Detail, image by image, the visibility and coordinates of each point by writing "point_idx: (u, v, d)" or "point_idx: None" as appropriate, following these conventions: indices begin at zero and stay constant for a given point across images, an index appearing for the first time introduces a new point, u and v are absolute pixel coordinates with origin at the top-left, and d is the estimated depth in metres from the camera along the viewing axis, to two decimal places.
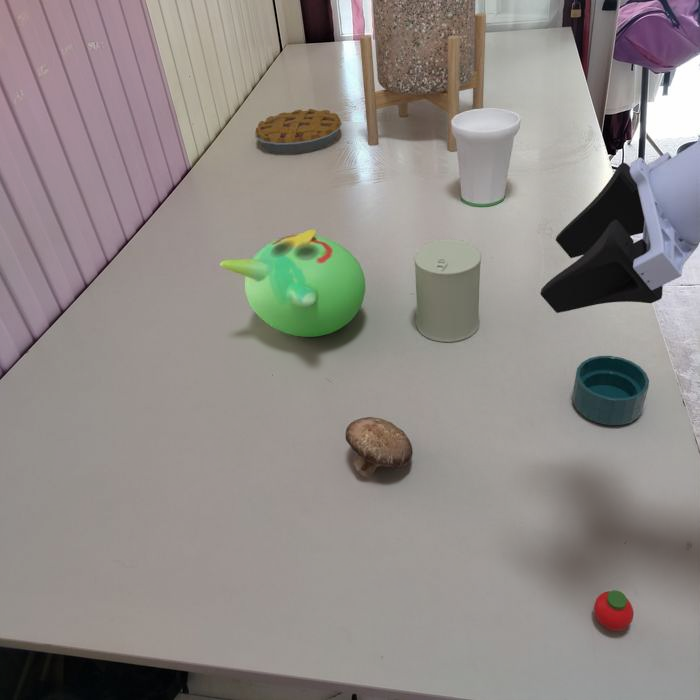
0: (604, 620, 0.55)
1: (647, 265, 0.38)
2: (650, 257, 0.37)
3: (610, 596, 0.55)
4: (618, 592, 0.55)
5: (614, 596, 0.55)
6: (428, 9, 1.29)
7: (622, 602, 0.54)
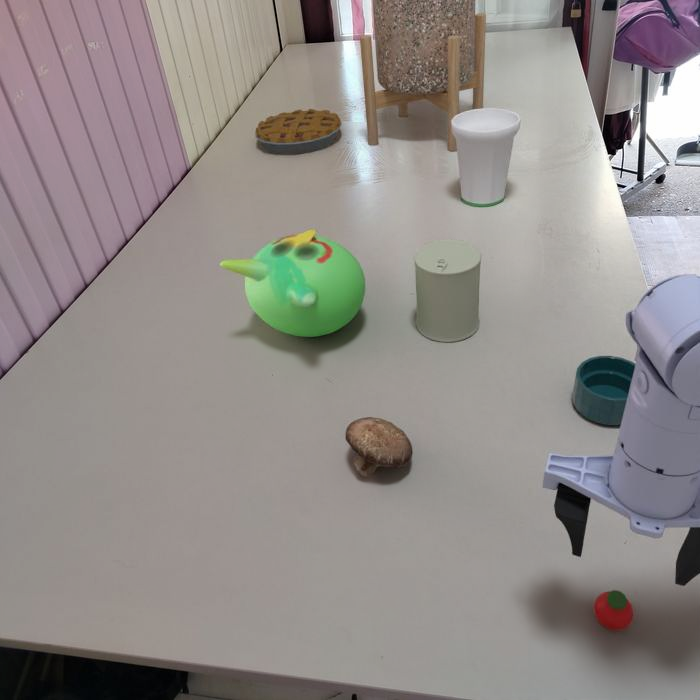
0: (604, 620, 0.55)
1: None
2: None
3: (610, 596, 0.55)
4: (618, 592, 0.55)
5: (614, 596, 0.55)
6: (428, 9, 1.29)
7: (622, 602, 0.54)
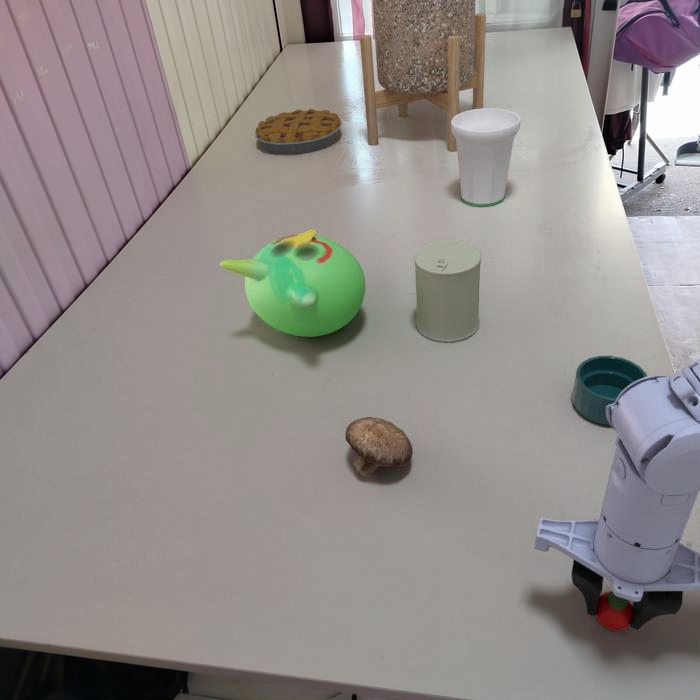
0: (604, 620, 0.55)
1: None
2: None
3: (610, 596, 0.55)
4: None
5: (614, 596, 0.55)
6: (428, 9, 1.29)
7: (622, 602, 0.54)
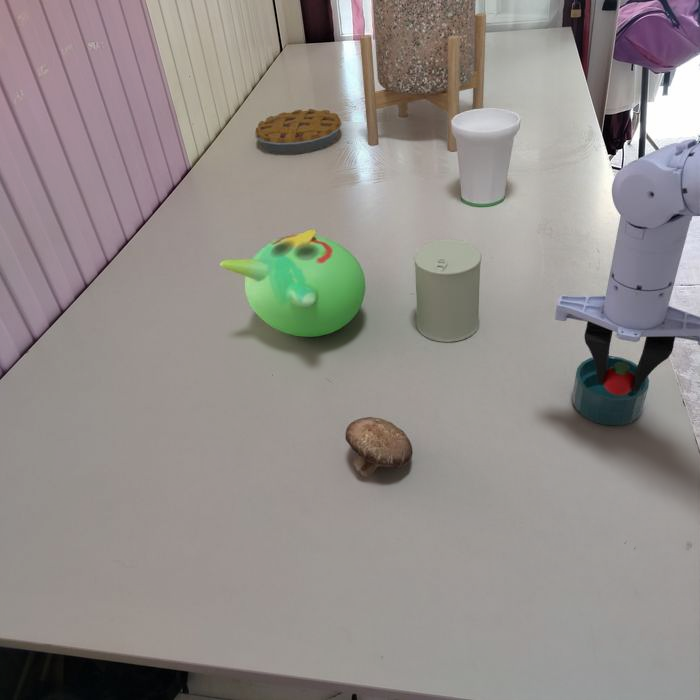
0: (610, 385, 0.68)
1: None
2: None
3: (616, 365, 0.67)
4: (623, 363, 0.68)
5: (619, 365, 0.67)
6: (428, 9, 1.29)
7: (626, 368, 0.67)
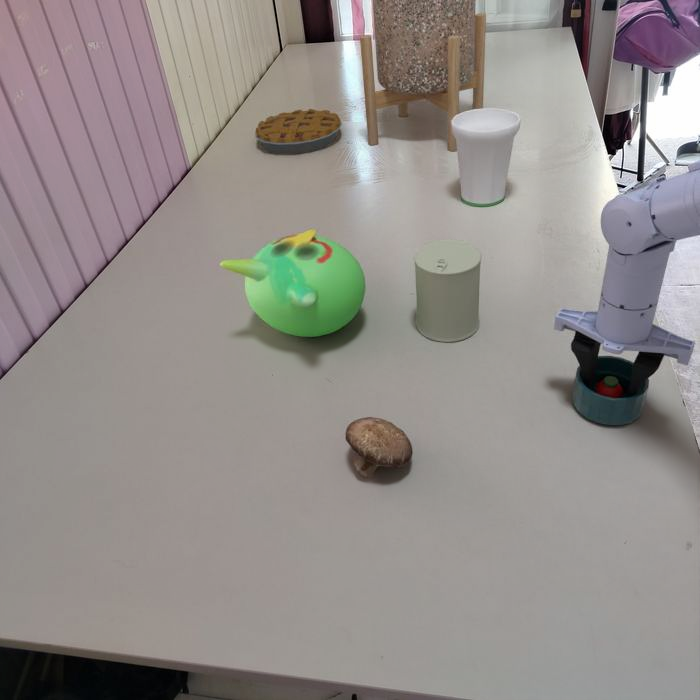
0: None
1: (689, 358, 0.67)
2: (688, 357, 0.67)
3: (606, 379, 0.75)
4: (613, 377, 0.75)
5: (609, 379, 0.75)
6: (428, 9, 1.29)
7: (614, 382, 0.75)
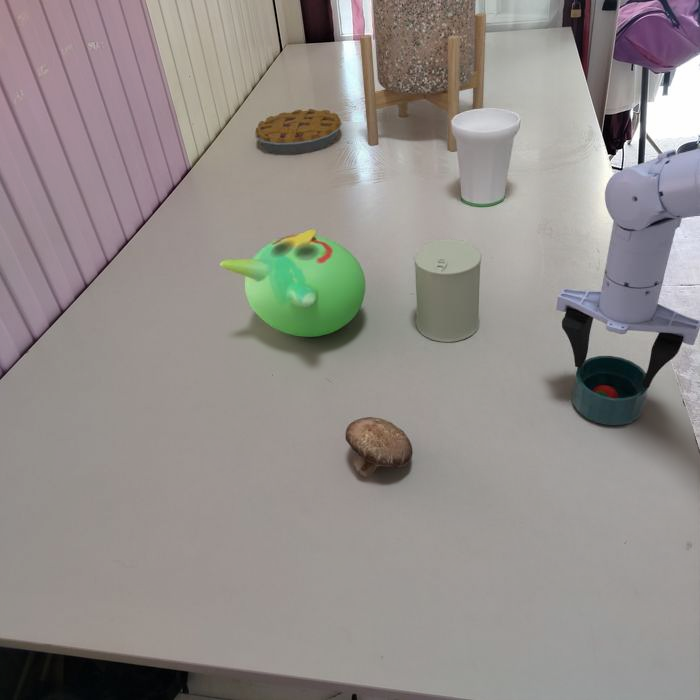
0: None
1: (695, 338, 0.66)
2: (694, 336, 0.65)
3: None
4: (601, 392, 0.74)
5: None
6: (428, 9, 1.29)
7: None
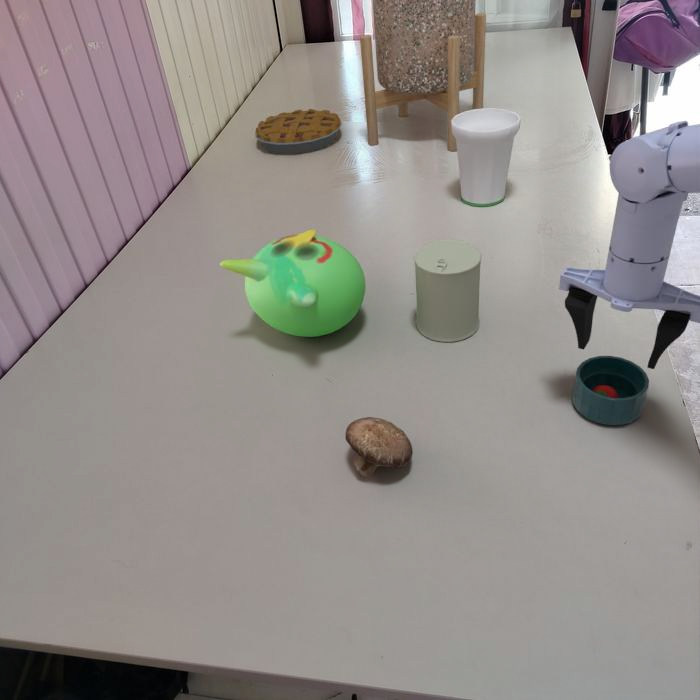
0: None
1: None
2: None
3: None
4: (601, 392, 0.74)
5: None
6: (428, 9, 1.29)
7: None
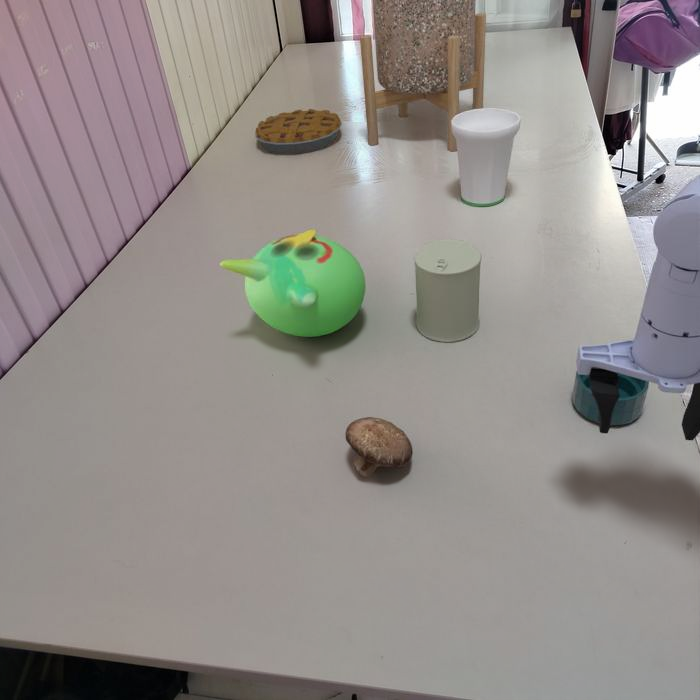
0: None
1: None
2: None
3: None
4: None
5: None
6: (428, 9, 1.29)
7: None
